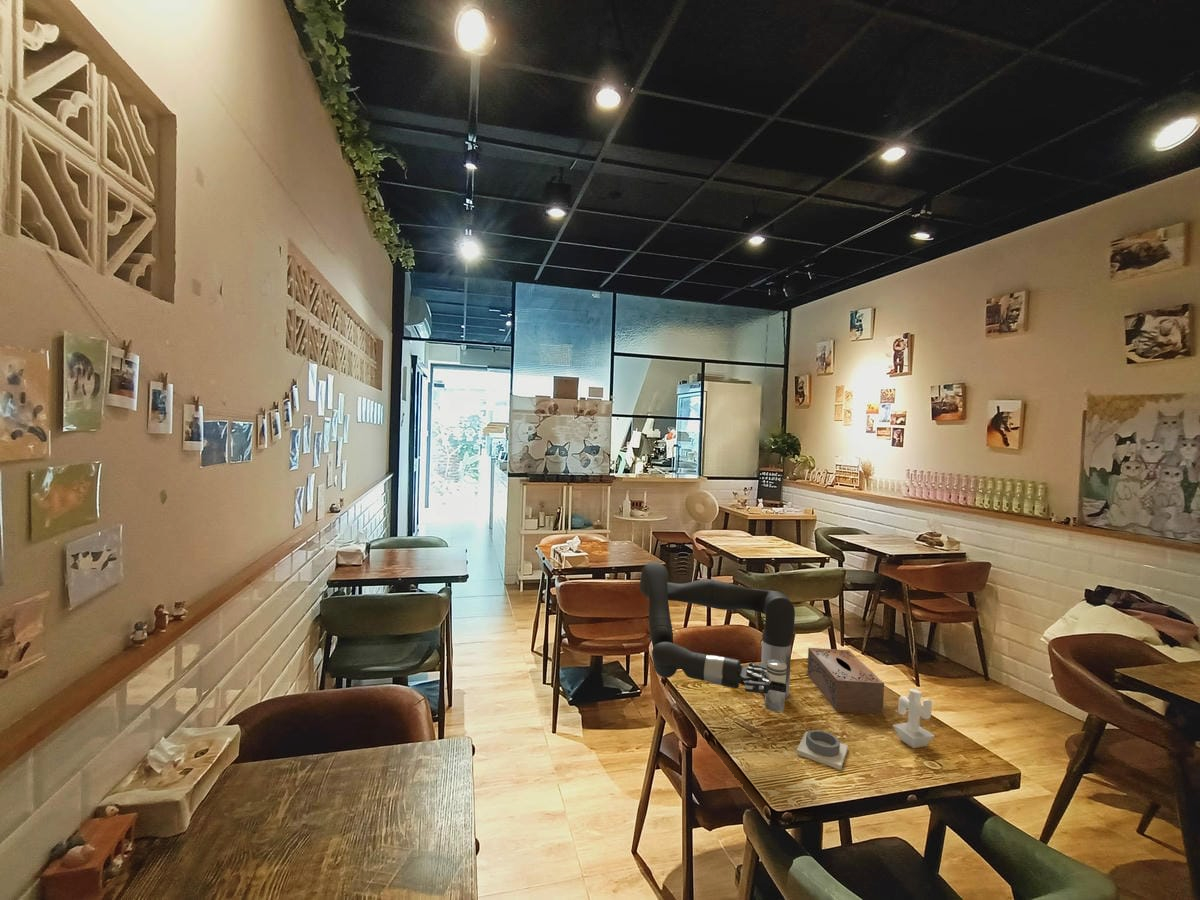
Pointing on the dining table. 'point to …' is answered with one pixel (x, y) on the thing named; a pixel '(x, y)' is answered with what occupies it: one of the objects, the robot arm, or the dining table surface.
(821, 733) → the ring stand
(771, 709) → the piston
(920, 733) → the figurine
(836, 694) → the tissue box cover
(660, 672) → the robot arm
